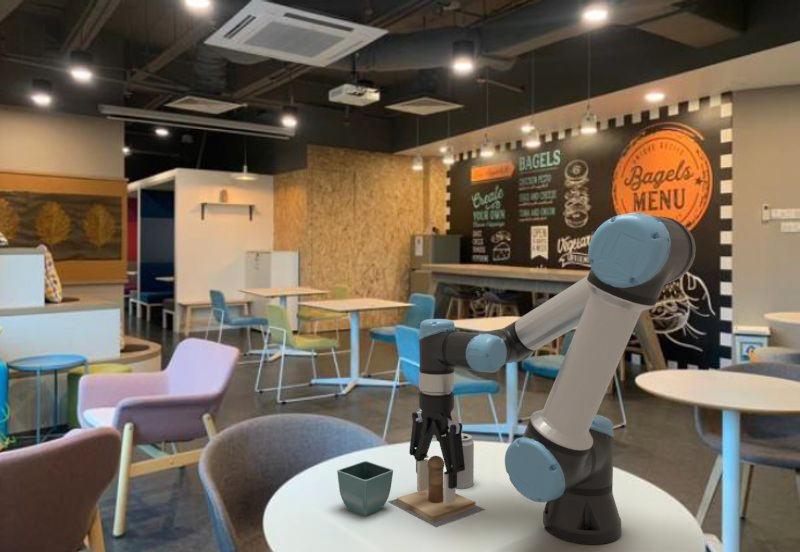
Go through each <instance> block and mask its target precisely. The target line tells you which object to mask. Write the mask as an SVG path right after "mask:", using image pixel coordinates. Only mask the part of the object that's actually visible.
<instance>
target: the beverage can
mask: <svg viewBox="0 0 800 552" xmlns="http://www.w3.org/2000/svg"><path fill="white" fill-rule="evenodd" d="M461 436H462V445H463V455H464V464H465V470H464V471H461V472H458V473H457V487H456V488H455V489H459V490H462V489H469V488H471V487H473V486H474V483H475V481H474V479H475V477H474V476H475V475H474V472H475V471H474V469H475V468H474V467H475V466H474V465H475V463H474V461H475V460H474V450H475V445H474V444H475V443H474V440H473V436H472V435H470V434H468V433H461ZM451 467H452V465H451Z"/></svg>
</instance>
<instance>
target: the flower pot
mask: <svg viewBox="0 0 800 552" xmlns="http://www.w3.org/2000/svg"><path fill="white" fill-rule="evenodd" d="M336 472H337V481H338V488H339V495H340V497H341V500H342V502H343V505H344V506H345V508H346V509H347V510H348V511H350V512H353V513H355V514H358V515H360V516H363V517H367V516H370V515H371V514H373V513H375V512H378V511H380V510H382V509H383V508H384V506H385V505H386V504H387V502H388V499H389V497H390V495H391V494H390V493H391V488H392V482H393V474H394V469H392V468H390V467H385V466H383V465H379V464H378V463H377V464H376V463H373V462H370V461H367V460H364V461H363V460H362V461H360V462H358V463H355V464H352V465H349V466H346V467H343V468H339V469H337V471H336Z"/></svg>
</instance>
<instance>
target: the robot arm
mask: <svg viewBox="0 0 800 552" xmlns="http://www.w3.org/2000/svg"><path fill="white" fill-rule="evenodd" d="M696 248H697V247H696V242H695V238H694V236H693V234H692V233H691V231H690V230H689V229H688V228H687V227H686V226H685V225H684V224H683V223H681V222H680V221H678V220H676V219H674V218H671V217H669V216H668V217H667V216H657V215H652V214H645V213H642V212H632V213H631V212H629V213H623V214H618V215H615V216H613V217H610V218H609V219H607V220H605V221H604V222H603V223H602V224H601V225H599V227H597V229H596V231H595V232H594V233H593V235H592V237H591V238H590V240H589V244H588V251H587V259H588V261H589V264H590V269H589V272H588V274H587V275H586V276H584V277H583V278H581V279H580V280H579V281H577V282H575V283H574V284H572V285H570V286H569V287H568V288H565V289H564V290H562V291H561V292H559V293H558V294H555V295H554V296H553V297H551V298H549V299H548V300H546V301H545V302H543V303H542V304H540V305H538V306H537V307H535V308H534V309H532V310H530V311H529V312H527V313H526V314H524V315H522V316H521V317H519V318H518V319H517V320H515V321H513V322H511V323H510V324H508V325H506V326H505V327H503V328H499V329H492V330H485V331H480V332H479V331H478V332H470V331H469V332H468V331H458V330H456V328H455V327H456V326H455V322H454V321H453V320H451V319H446V318H430V319H429V318H428V319H424V320H422V321H421V322H420V324H419V338H418V349H419V368H418V369H419V370H418V371H419V372H418V373H419V374H418V389H419V390H420V392H419V393H418V408H419V409H420V411H415V412H412V413H411V417H412V419H411V420H412V427H411V435H410V443H409V451H408V452H409V454H410V456H413V457H414V460H415V473H416V492H418V491H419V492H420V491H423V490H426V489H428V482H429V468H428V460H429V459H428V458H430V457H429V456H428V452H429V450H430V446H431V442H432V441H433V437H434V436H435V439H436V441H437V442H438V443H439V447H440V451H441V455H442V459H443V461H444V468H445V470H446V471H443V488H444V500H443V503H444V504H448V503H451V502H454V501H455V493H456V489H457V488H456V487H457V473H458V472H461V471H464V470H465V464H464V455H463V445H462V436H461V433H462V431H463V424H462V423H461V422H458V423H457V422H455V421H453V418H452V415H451V414H452V412H453V410H454V409H455V394H454V392H453V391H454V389H455V368H460V369H464V370H470V371H475V372H478V373H493V374H494V373H497V372H499V371H500V370H501V368H502V367H504V365H506V364H507V365H508V364H512V363H519V362H522V361H524V360H527V359H529V358H530V357H532V356H533V354H534V353H535V351H536V350H538V349H540V348H542V347H544V346H545V345H547V344H549V343H551V342H552V341H554V340H556V339H557V338H559V337H561V336H564V335H565V334H567V333H568V332H571V331H572V330H574V329H575V328H576V329H575V331H574V334H573V337H572V339H571V341H570V343H569V346H568V348H567V350H566V353H565V356H564V358H563V361H562V362H561V365H560V367H559V370H558V372H557V375H556V377H555V380H554V382H553V385H552V387H551V389H550V391H549V394H548V396H547V399H546V402H545V404H544V407H543V409H538V410H536V411H533V413H531V415H530V417H529V420H528V423H527V425H526V427H525V430H524V433H523V435H522V436H521V437H517V438H515V439H514V440H513V442H511V443H510V444H508V447H507V449H506V451H505V455H504V466H505V471H506V473H507V474H508V477H509V478H508V479H509V480H510V483H511V484H512V485H513V487H514V488H515V489H516V491H517V492H518V493H519V494H521V495H522V496H523V497H525V498H526V499H527V500H530V501H533V502H536V503H545V506H544V509H543V511H542V523H543V525H544V529H545V530H546V531H547V532H548V533H549V534H551V535H553V536H555V537H557V538H560V539H562V540H564V541H568V542H572V543H576V544H583V545H603V544H609V543H612V542H615V541H617V540H618V539H620V537H621V536H622V519H621V517H620V513H619V510H618V507H617V503H616V501H615V497H614V491H613V483H614V482H613V479H614V477H613V475H614V445H615V444H614V440H615V434H614V425H613V422H612V419H609V418H608V417H606V416H604V415H600V414H597V413H598V411H599V408H600V407H601V404H602V402H603V400H604V398H605V395H606V393H607V390H608V388H609V386H610V384H611V381H612V379H613V377H614V375H615V372H616V370H617V368H618V366H619V363H620V362H621V359H622V357H623V354H624V352H625V350H626V348H627V346H628V343H629V341H630V339H631V336H632V335H633V332H634V329H635V327H636V325H637V323H638V320H639V318H640V316H641V314H642V312H644V311H646V310H650V309H652V308H654V307H655V306H656V304H657V302H658V300H659V298H660V296H661V293H662V291H663V289H664V287H665V285H668V284H669V283H672V282H674V281H677V280H678V279H680V278H681V277H684V275H685V274H686V273H687V272H688V271H689V270H690V268H691V267H692V265H693V264H694V261H695V258H696V251H697V250H696ZM451 465H452V467H451Z"/></svg>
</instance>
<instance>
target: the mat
mask: <svg viewBox="0 0 800 552" xmlns="http://www.w3.org/2000/svg"><path fill="white" fill-rule="evenodd" d="M387 503H390V504H391V505H393V506H395V507H397V508H398V509H399V510H403V511H404V512H406V513H408V514H410V515H412V517H416V518H418V519H419V520H421V521H424V522H425V523H427V524H429V525H430V526H432V527H434V528H438V527H439V528H440V527H442V526H443V525H446V524H450V523H452V522H455V521H458V520H461V519H464V518H466V517H469V516H471V515H475V514H477V513H480V512H482V511H486V509H485V508H483V507H480V506H479V505H477V504H475V508H473V509H470V510H467V511H464V512H461V513H458V514H456V515H453V516H450V517H447V518H444V519H442V520H439V521H436V522H431V521H430V520H428V519H426V518H424V517H422V516H420V515H418V514H416V513H414V512H412V511H410V510H409V509H407V508H405V507H403V506H401V505H399V504H397V498H395V499H392V500H387Z"/></svg>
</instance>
